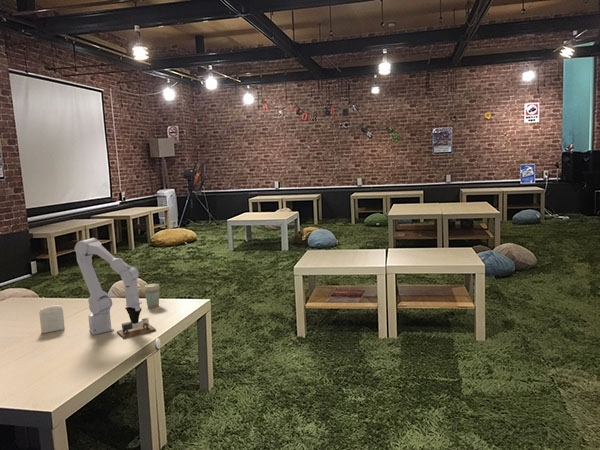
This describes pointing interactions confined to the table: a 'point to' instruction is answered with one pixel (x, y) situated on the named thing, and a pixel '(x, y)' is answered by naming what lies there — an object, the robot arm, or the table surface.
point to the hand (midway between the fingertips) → (134, 322)
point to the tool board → (136, 331)
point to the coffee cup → (152, 295)
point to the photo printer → (51, 318)
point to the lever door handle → (130, 324)
